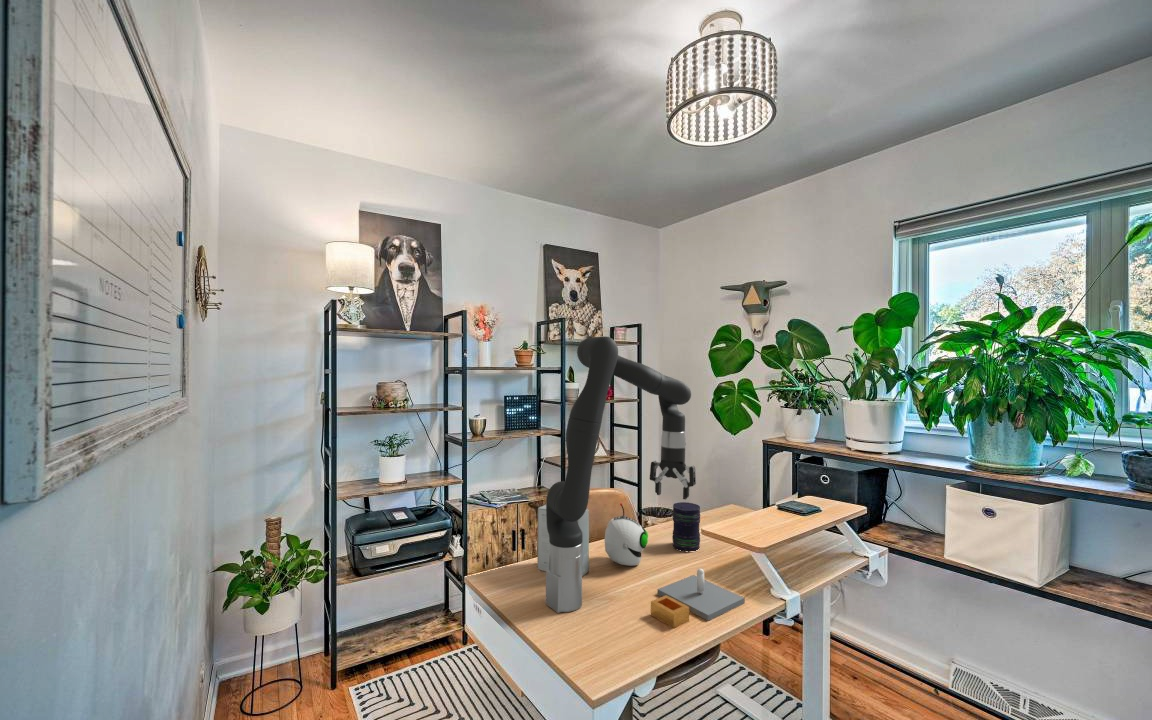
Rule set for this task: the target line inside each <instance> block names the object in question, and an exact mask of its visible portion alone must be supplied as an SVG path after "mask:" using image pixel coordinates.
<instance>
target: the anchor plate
mask: <svg viewBox="0 0 1152 720" xmlns="http://www.w3.org/2000/svg"><path fill="white" fill-rule="evenodd" d="M657 595H658V596H660V597H663V596H665V595H667V596H669V597H671V598H673V599H675V600H677V601H679V602H681V603H683V604H685V605H686V606H688V607H689V613H690V612H691V613H692V614H694V615H696V616H698V617H700V618H702V619H704V620H706V621H708V622H709V621H712V620H713V619H716V618H717V617H720V616H721V615H722V616H723V614H725V613H727V612H729V611H731V610H734V609H736V608H738V607H740V606H742V605H744V604H745V600H746V599H745V596H744V597H743V596H741V595H739V594H738V593H735V592H733V591H731V590H728V589H726V588H725V587H724V588H723V587H722V586H719V585H717V584H715V583H712V582H710V581H708V580H706V579H705V571H704V569H702V568H698V569H697V570H696V575H695V574H692V575H690V576H687V577H685V578H683V579H680V580H677V581H675V582H672V583H670V584H667V585H664V586H662V587H659V588H657Z"/></svg>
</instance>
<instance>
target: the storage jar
mask: <svg viewBox="0 0 1152 720" xmlns="http://www.w3.org/2000/svg"><path fill="white" fill-rule="evenodd" d="M672 508H673V509H672V522H673V527H672V528H673V530H672V535H671V536H672V548H673V547H674V548H675V549H674V548H673V549H674V550H676V549H678V550H681V551H696V550H698V549H699V548H700V547H701V546H700V545H701V544H700V543H701V532H700V524H701V506H700V505H699V504H697V503H694V502H686V501H685V502H684V501H683V502H676V503H673V504H672ZM678 550H677V551H678ZM699 550H700V549H699ZM681 551H680V552H681ZM696 552H697V551H696Z"/></svg>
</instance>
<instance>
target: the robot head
mask: <svg viewBox="0 0 1152 720" xmlns="http://www.w3.org/2000/svg"><path fill="white" fill-rule="evenodd" d="M619 506H620V507H621V508H622V515H621V516H615V517H613V518H612V519H610V520H609V521H608V524H607V525H606V529H605V532H604V551H605V553H606V554H607V556H608V557H609V558H610V560H611V561H612V562H615V563H616V564H619V565H621V566H629V567H633V566H638V565H639V564H640V563H641V561H642V552H643V551H644V549H645V548H646V547H647V544H648V541H649V540H648V538H649V534H648V531H647V530H646V529H645V527H644V526H642V525H641V524H640V523H638V522H637V520H634V519H633V518H631V517H628V516H626V515H625V507H624V506H623V503H620V504H619Z"/></svg>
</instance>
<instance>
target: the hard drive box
mask: <svg viewBox="0 0 1152 720" xmlns="http://www.w3.org/2000/svg"><path fill="white" fill-rule="evenodd" d="M589 515H590V510H589V509H588V508H587V509H586V511H585V513H584V515H583V516H582V517H581V518H580V519H579V520H577V522H578V525H579V527H580V529H581V531H582V535H583V542H582V577H584V576H585V575H586V574H587V573H589V571H590V550H589V549H590V547H589V546H590V541H589V540H590V526H589V525H590V520H589V519H590V516H589ZM536 562H537V563H536V565H537V567H536V568H537V570H540V571H543V572H546V570H547V569H549V534H548V530H547V518H546V504H544V505H541V506H539V507H537V561H536Z"/></svg>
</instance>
